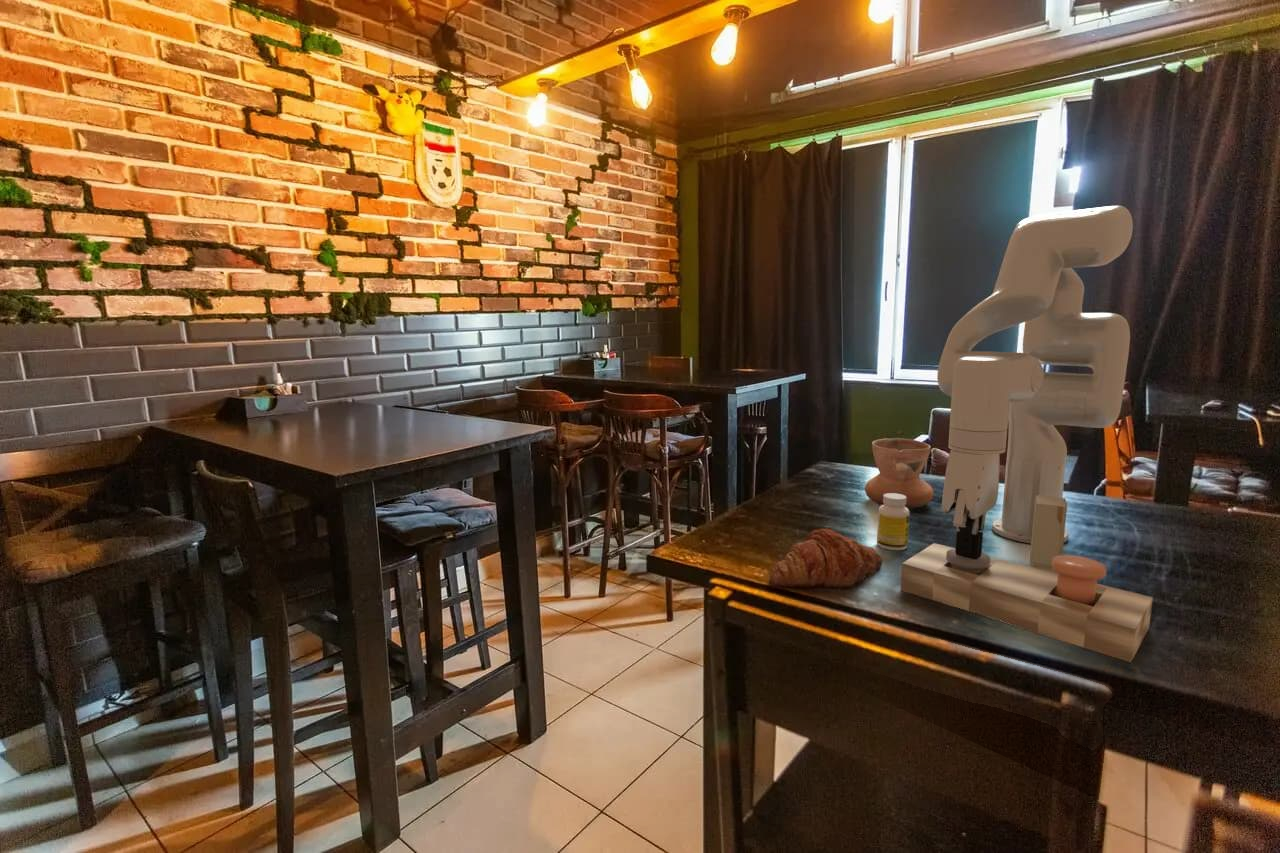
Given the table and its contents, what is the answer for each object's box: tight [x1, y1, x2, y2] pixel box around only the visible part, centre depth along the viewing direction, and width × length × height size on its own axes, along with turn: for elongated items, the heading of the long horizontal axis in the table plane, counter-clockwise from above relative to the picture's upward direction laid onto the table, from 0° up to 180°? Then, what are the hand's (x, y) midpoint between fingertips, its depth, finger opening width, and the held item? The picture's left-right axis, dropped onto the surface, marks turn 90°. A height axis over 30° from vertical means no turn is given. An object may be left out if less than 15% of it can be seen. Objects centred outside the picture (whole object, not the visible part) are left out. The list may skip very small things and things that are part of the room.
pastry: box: [769, 528, 884, 590], centre depth 102 cm, size 17×15×8 cm
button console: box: [900, 542, 1154, 663], centre depth 90 cm, size 12×29×4 cm, turn 42°
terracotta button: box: [1052, 554, 1107, 607], centre depth 84 cm, size 6×6×6 cm
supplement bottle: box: [876, 493, 911, 551], centre depth 114 cm, size 5×5×10 cm
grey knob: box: [946, 549, 991, 576], centre depth 95 cm, size 6×6×6 cm
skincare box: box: [1028, 495, 1068, 574], centre depth 102 cm, size 6×4×12 cm
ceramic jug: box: [864, 437, 935, 510], centre depth 139 cm, size 18×14×14 cm
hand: (968, 555), depth 94 cm, fingers closed
